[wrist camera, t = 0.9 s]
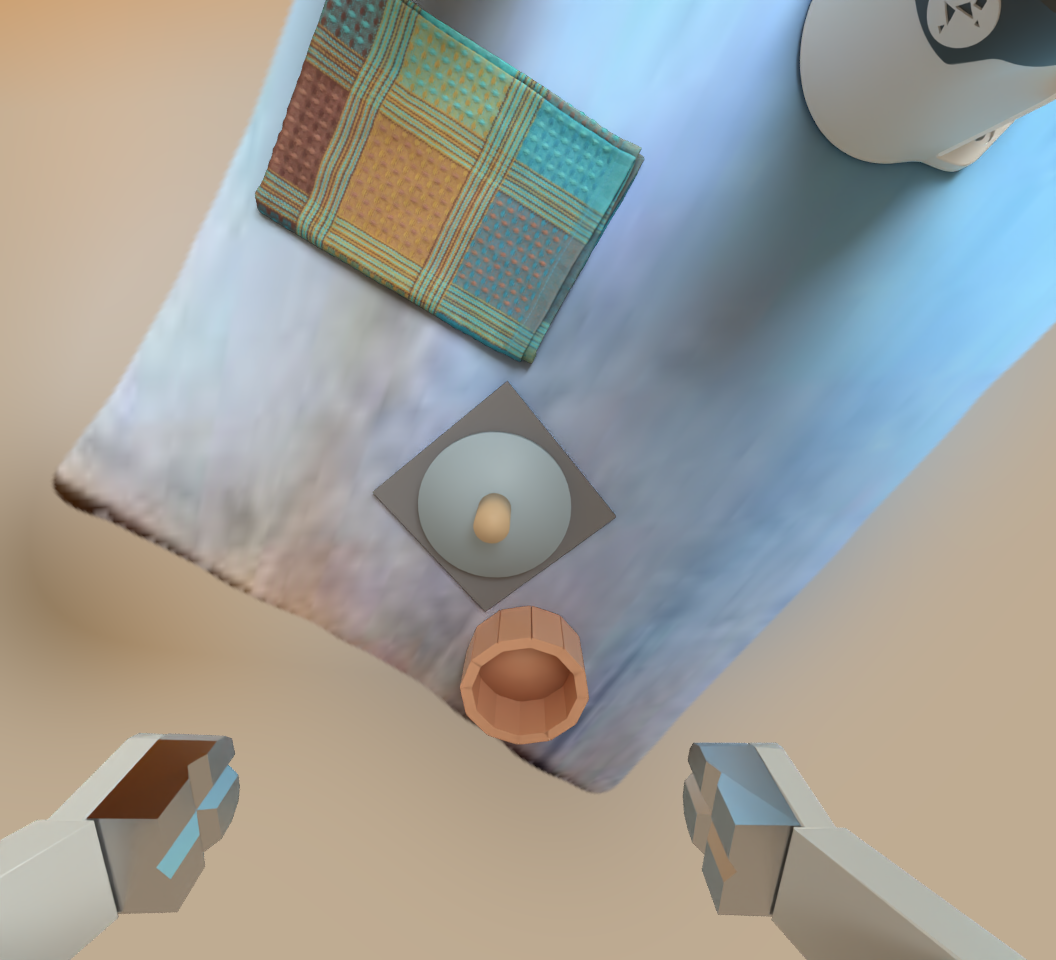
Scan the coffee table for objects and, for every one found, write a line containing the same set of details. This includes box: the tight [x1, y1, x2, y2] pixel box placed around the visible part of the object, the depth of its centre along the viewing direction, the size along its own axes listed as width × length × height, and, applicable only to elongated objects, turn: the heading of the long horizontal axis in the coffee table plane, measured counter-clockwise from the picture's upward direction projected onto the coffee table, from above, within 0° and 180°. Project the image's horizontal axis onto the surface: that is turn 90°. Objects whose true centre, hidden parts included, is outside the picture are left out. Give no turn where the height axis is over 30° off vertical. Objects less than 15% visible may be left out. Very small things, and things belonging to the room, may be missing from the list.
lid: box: [418, 431, 571, 578], centre depth 40 cm, size 13×13×5 cm
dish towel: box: [255, 0, 644, 363], centre depth 35 cm, size 17×23×2 cm
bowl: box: [460, 606, 589, 744], centre depth 45 cm, size 11×11×5 cm
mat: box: [373, 381, 616, 611], centre depth 43 cm, size 15×15×1 cm
